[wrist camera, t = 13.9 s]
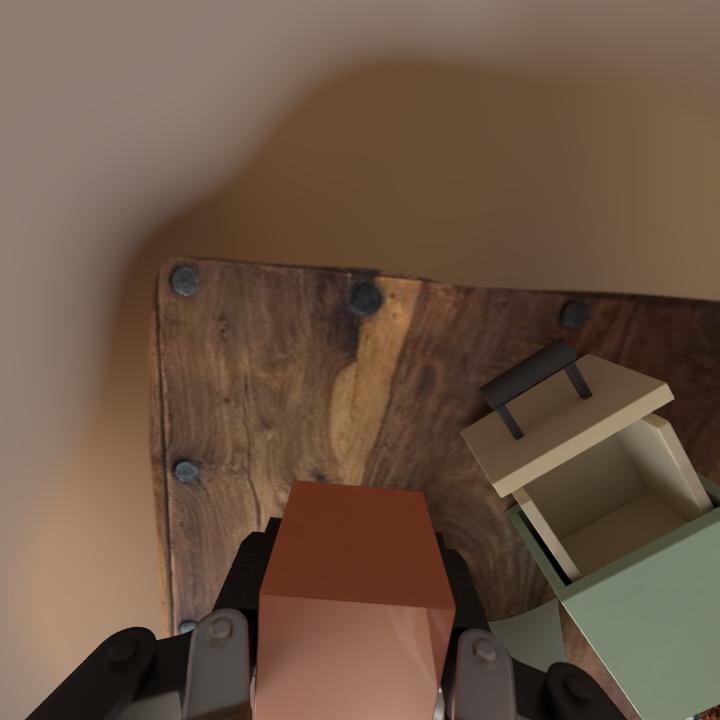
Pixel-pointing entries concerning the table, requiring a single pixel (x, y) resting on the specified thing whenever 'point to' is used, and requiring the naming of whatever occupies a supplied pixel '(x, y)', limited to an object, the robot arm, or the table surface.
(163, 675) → the robot arm
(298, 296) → the table surface
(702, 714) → the mineral specimen
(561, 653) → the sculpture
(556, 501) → the drawer
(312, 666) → the block
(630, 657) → the cabinet
